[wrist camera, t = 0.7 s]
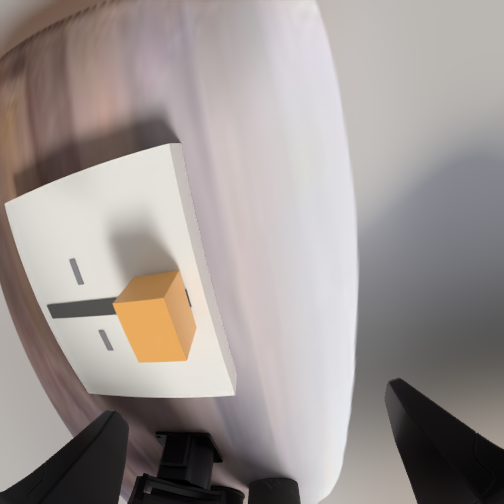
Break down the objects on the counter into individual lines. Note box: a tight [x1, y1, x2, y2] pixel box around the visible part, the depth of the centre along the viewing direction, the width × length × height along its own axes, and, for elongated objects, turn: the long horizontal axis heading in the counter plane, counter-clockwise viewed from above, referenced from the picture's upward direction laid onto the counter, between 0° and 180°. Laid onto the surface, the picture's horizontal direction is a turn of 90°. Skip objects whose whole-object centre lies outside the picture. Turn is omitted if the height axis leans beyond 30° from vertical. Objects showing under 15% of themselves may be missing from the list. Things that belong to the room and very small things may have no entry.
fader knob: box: [112, 270, 197, 363], centre depth 16 cm, size 4×3×3 cm
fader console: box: [5, 143, 237, 398], centre depth 19 cm, size 18×14×3 cm
